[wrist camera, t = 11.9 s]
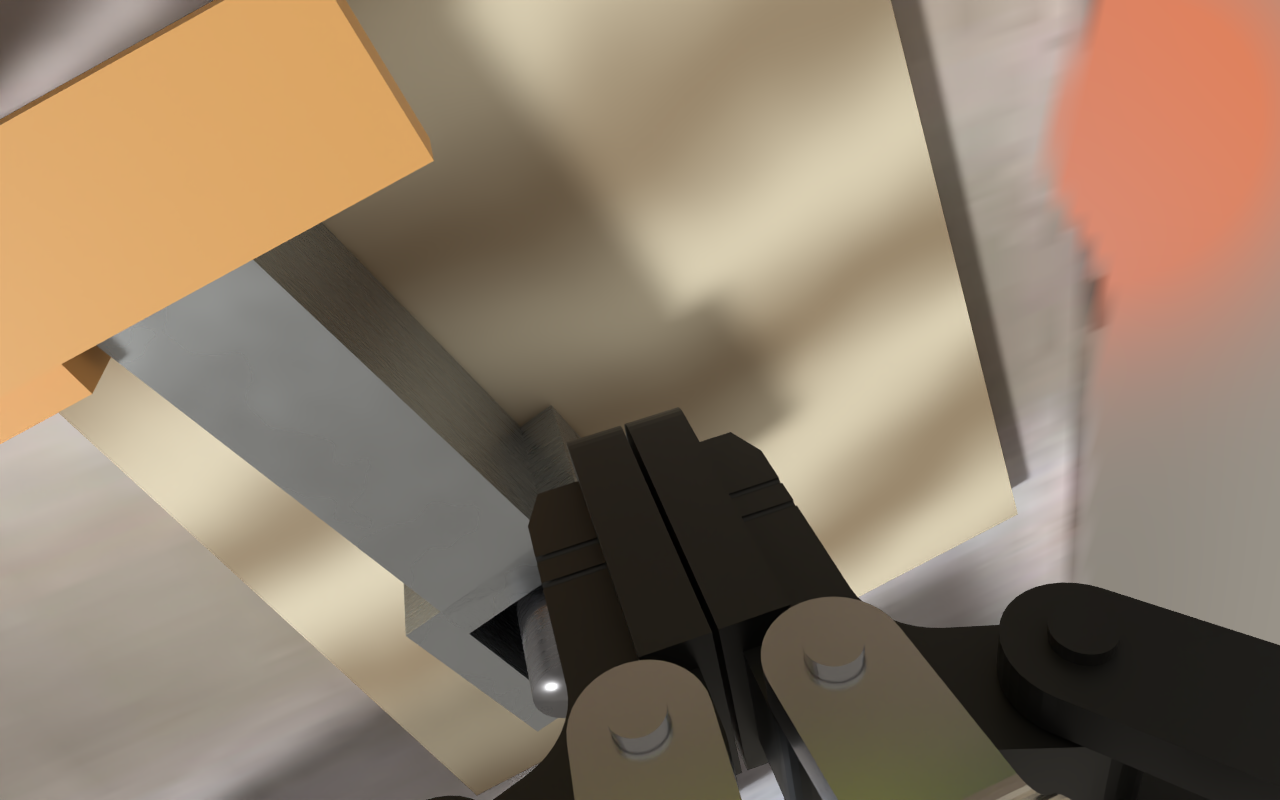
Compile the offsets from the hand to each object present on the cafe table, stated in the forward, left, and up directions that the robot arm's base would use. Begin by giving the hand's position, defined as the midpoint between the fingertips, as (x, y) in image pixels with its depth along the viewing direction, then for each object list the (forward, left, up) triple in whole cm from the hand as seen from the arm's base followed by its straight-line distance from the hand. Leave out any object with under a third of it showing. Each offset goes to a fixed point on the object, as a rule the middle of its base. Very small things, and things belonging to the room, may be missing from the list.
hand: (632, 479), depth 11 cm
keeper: (-4, -5, -12) cm, 13 cm away
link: (+2, -5, -11) cm, 12 cm away
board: (+6, -1, -12) cm, 13 cm away
